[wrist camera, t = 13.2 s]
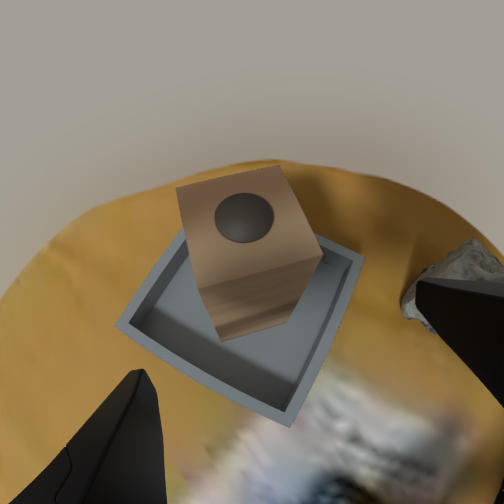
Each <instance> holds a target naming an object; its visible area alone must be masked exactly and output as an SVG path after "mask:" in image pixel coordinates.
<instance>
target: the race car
mask: <svg viewBox="0 0 504 504" xmlns="http://www.w3.org/2000/svg"><path fill="white" fill-rule="evenodd" d="M500 491H503V492H500V493H499V494H498V495H497V498H496V500H495V502H494V504H504V481H503V484H502V487H501V489H500Z"/></svg>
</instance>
